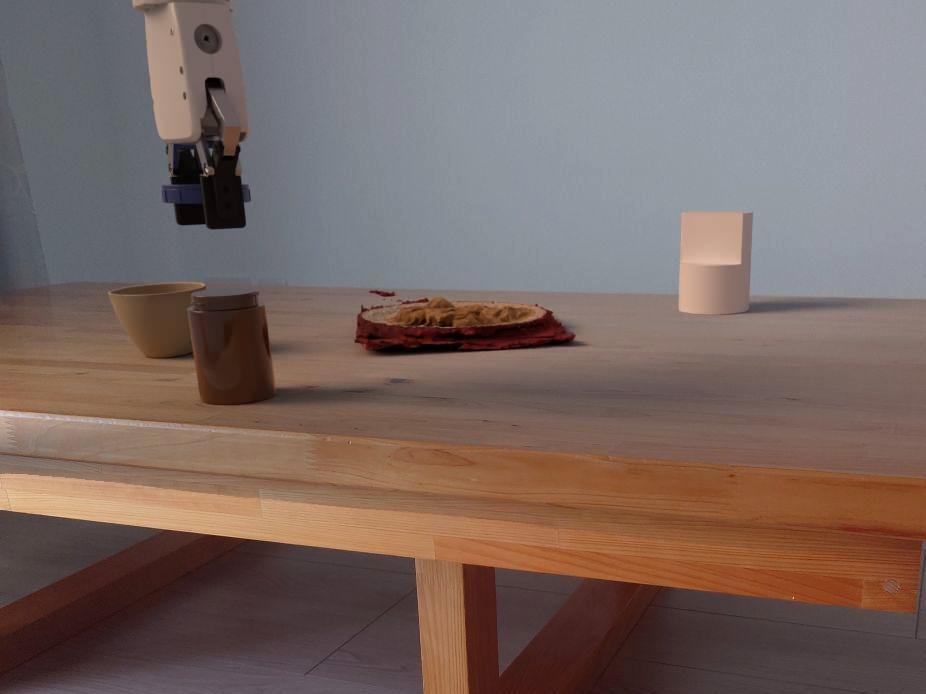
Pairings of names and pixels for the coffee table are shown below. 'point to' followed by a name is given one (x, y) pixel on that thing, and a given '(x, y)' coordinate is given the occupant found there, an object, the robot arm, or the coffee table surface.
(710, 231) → the base with upright slab
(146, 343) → the flower pot
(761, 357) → the coffee table surface
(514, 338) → the plate with food
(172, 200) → the jar lid
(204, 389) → the jar
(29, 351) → the coffee table surface
